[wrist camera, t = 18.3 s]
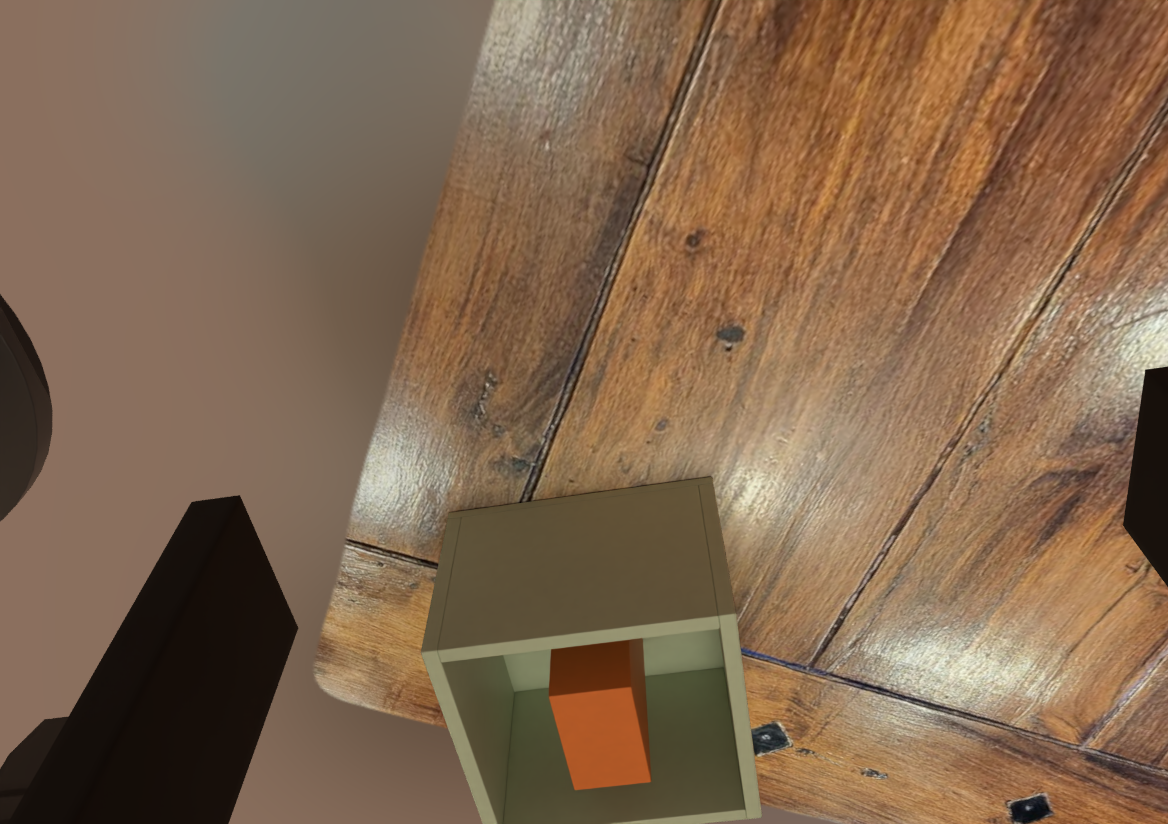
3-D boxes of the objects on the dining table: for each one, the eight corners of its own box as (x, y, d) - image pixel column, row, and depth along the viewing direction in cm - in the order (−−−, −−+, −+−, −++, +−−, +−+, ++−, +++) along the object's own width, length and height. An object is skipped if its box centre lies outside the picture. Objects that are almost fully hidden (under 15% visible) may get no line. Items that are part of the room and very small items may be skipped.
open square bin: (505, 694, 62) (490, 846, 53) (448, 512, 55) (420, 652, 46) (736, 667, 61) (762, 818, 52) (711, 476, 53) (736, 613, 44)
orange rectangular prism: (576, 648, 59) (574, 791, 51) (554, 560, 56) (548, 696, 47) (643, 640, 59) (651, 782, 50) (625, 550, 55) (631, 687, 47)
